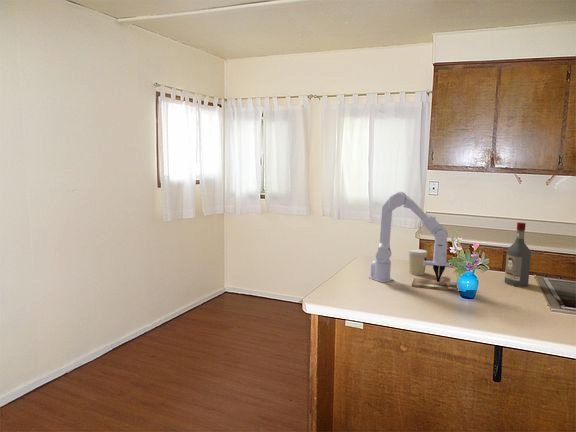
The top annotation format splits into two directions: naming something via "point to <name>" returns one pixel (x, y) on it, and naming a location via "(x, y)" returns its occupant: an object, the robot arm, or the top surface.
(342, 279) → the top surface
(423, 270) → the coffee cup
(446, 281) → the gauge slider
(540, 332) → the top surface
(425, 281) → the gauge base
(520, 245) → the liquor
